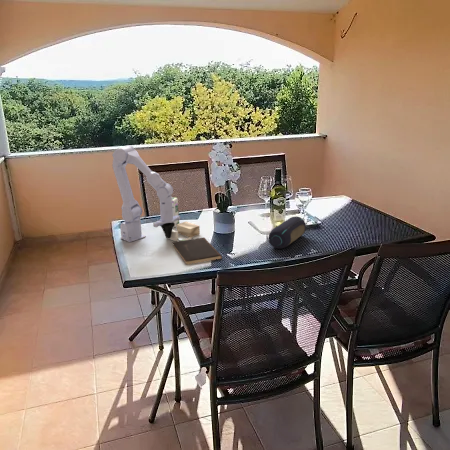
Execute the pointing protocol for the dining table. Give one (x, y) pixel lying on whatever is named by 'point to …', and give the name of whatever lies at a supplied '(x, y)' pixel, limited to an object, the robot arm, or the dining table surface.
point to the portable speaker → (287, 232)
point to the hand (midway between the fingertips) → (168, 237)
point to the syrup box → (175, 209)
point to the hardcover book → (196, 250)
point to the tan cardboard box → (188, 230)
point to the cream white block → (174, 236)
